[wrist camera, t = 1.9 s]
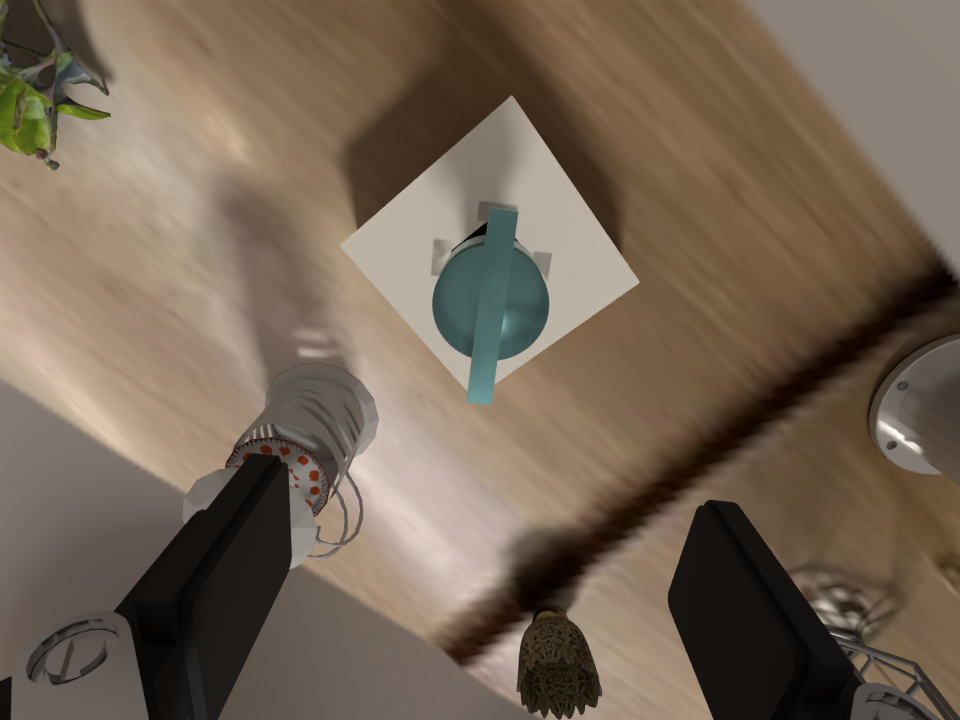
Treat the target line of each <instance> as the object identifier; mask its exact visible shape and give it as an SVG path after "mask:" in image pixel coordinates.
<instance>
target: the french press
mask: <svg viewBox="0 0 960 720" xmlns="http://www.w3.org/2000/svg"><path fill="white" fill-rule="evenodd" d="M378 420H379V418H378V414H377V410H376V406H375V402H374V399H373V397H372V396H371V395H370V393H369V392H368V391H367V389H366V388H365V386H364V385H363V384H362V382H361V381H359V380H358V379H356V378H355V377H353V376H352V375H350V374H349V373H347V372H346V371H344V370H343V369H341V368H337V367H333V366H329V365H325V364H321V363H312V364H303V365H296V366H294V367H292V368H290V369H289V370H287V371H285V372H283V373H282V374H280V375H278V376H277V377H276V379H275V380H274V382H273V383H272V385H271V386H270V388H269V389H268V391H267V393H266V402H265V410H264V411H263V412H262V413H261V414H260V416H259V417H258V418H257V419H256V420H255V421H254V422H253V423H252V425H251V426H250V427H249V428H248V429H247V430H246V431H245V432H244V433H243V435H242V436H241V437H240V439H239V440H238V441H237V443H236V444H235V446H234V449H233V452H232V454H231V455H230V457H229V458H228V460H227V461H226V464H225V469H219V470H217V471H215V472H213V473H211V474H209V475H207V476H205V477H203V478H201V479H199V480H197V481H196V482H195V483H194V485H193V486H192V488H191V489H190V490H189V492H188V493H187V494H186V496H185V497H184V505H183V521H184V523H185V524H186V523H187V522H188V520H189V519H190V518H191V517H192V516H193V515H194V514H195V513H196V512H197V511H199V510H201V509H205V510H206V509H207V508H208V507H209V505H210V504H211V503H212V502H213V500H214V499H215V498H216V497H217V495H218V494H219V493H220V492H221V490H222V489H223V488H224V486H225V485H226V484H227V483H228V481H229V480H230V479H231V478H232V476H233V475H234V474H235V473H236V471H237V470H238V469H239V468H240V466H241V465H242V464H243V463H244V461H245V460H246V459H247V458H248V456H249V455H250V454H252V453H259V454H269V455H278V456H279V457H280V459H281V462H282V463H287V464H288V468H289V491H290V516H291V540H292V561H291V566H290V569H292V568H294V567H296V566H298V565H300V564H301V563H302V562H303V561H304V559H305V558H309V559H313V560H320V559H326V558H328V557H330V556H332V555H333V554H335V553H336V552H337V551H338V550H339V549H340V548H341V546H344V545H346V544H347V543H348V542H350V541H351V540H353V539H354V538H355V537H356V535H357V534H358V533H359V530H360V526H361V523H362V520H363V506H362V499H361V496H360V493H359V491H358V488H357V486H356V485H355V483H354V482H353V480H352V478H351V477H350V475H349V473H348V469H349V467H350V465H351V462H352V460H353V458H354V457H356V456H357V455H359V454H361V453H363V452H364V451H365V449H366V448H367V447H368V446H369V444H370V443H371V442H372V441H373V439H374V438H375V434H376V429H377V425H378ZM267 424H269V427H270V430H271V433H272V437H270V438H269V434H268V429H267ZM262 425H263V432H264V437H265V438H261V434H260V426H262ZM255 428H256V438H257V439H253V430H254V429H255ZM248 436H249V441H248V442H246V443H245V439H246V438H247V437H248ZM338 473H339V476H340V477H339V480H338V482H337V485H336V487H335V485H334V481H335V479H336V477H337V475H338ZM344 475H346V477H347V478H348V480H349V482H350V483H351V485H352V487H353V489H354V490H355V493H356V495H357V497H358V500H359V505H360V516H359V522H358V524H357V527H356V530H355V532H354V534H353V535H352V536H351V537H350V538H349V539H347V540H345V541H344V539H345V537H346V534H347V531H348V520H347V509H346V506H345V503H344V500H343V498H342V497H341V495H340V493H339V492H338V490H337V489H338V487H339V485H340V483H341V481H342V479H343V477H344ZM331 486H332V488H333V490H334V491H333V493H332V495H331V497H330V499H331V498H332V496H333V495H334V494H335V493H336V495H337V497H338V499H339V501H340V503H341V505H342V508H343V510H344V517H345V524H344V533H343V535H342V538H341V540H340V542H339V543H333V544H330V543H327V542H324V541H321V540H320V539H319V532H320V529H321V527H320V526H317V525H316V522H315V519H314V517H315V516H317V515H318V514H319V512H320V511H321V510H322V509H323V507H324V506H325V505H326V504H327V501H328V495H329V490H330V488H331ZM315 539H316V542H317V543H318V544H319V545H323V546H327V547H332V548H334V547H336V548H335V549H334V550H332V551H331V552H329V553H327V554H325V555H319V556H312V555H309V553H310V552H311V551H312V550H313V548H314V543H315ZM343 541H344V542H343ZM290 569H289V570H290Z"/></svg>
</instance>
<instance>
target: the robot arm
mask: <svg viewBox="0 0 960 720" xmlns="http://www.w3.org/2000/svg"><path fill="white" fill-rule="evenodd" d="M869 429H870V434H871V438H872V440H873V442H874V444H875V446H876V448H877V449H878V450H879V451H880V452H881V453H882V454H883V455H884V456H885V457H886V458H888V459H889V460H890V461H891V462H893V463H894V464H895V465H897V466H899V467H901V468H903V469H905V470H908V471H912V472H915V473H920V474H931V475H933V474H944V475H945V476H947V477H948V478H950V479H951V480H952V481H954V482H955V483H957V484H958V485H960V333H959V334H955V335H951V336H947V337H944V338H941V339H939V340H937V341H934V342H932V343H929V344H927V345H926V346H924V347H922V348H920V349H919V350H917V351H915V352H914V353H912V354H911V355H910V356H908V357H907V358H906V359H904V360H903V361H902V362H901V363H900V364H899V365H898V366H897V367H896V368H895V369H894V370H893V371H892V372H891V373H890V374H889V375H888V376H887V378H886V379H885V380H884V382H883V383H882V385H881V386H880V387H879V389H878V391H877V393H876V395H875V397H874V400H873V402H872V406H871V410H870V414H869ZM291 561H292V540H291V516H290V491H289V468H288V464H287V463H282V462H281V459H280V457H279V456H278V455H269V454H259V453H252V454H250V455H249V456H248V458H247V459H246V460H245V461H244V463H243V464H242V465H241V466H240V468H239V469H238V470H237V471H236V473H235V474H234V475H233V476H232V478H231V479H230V480H229V481H228V483H227V484H226V485H225V486H224V488H223V489H222V490H221V492H220V493H219V494H218V495H217V497H216V498H215V499H214V500H213V502H212V503H211V504H210V505H209V507H208V508H207V509H206V510H205V509H201V510H199V511H197V512H196V513H195V514H194V515H193V516H192V517H191V518H190V519H189V520H188V522H187V523H186V524H185V525H184V526H183V528H182V529H181V530H180V531H179V533H178V534H177V535H176V536H175V537H174V539H173V540H172V541H171V542H170V543H169V545H168V546H167V547H166V548H165V550H164V551H163V552H162V553H161V555H160V556H159V557H158V558H157V559H156V561H155V562H154V563H153V564H152V565H151V567H150V568H149V569H148V570H147V571H146V573H145V574H144V575H143V576H142V578H141V579H140V580H139V581H138V582H137V584H136V585H135V586H134V587H133V589H132V590H131V591H130V592H129V593H128V595H127V596H126V597H125V598H124V600H123V601H122V602H121V603H120V604H119V606H118V607H117V608H116V609H115V610H114V612H108V611H96V612H87V613H84V614H80V615H77V616H74V617H70V618H69V619H66V620H64V621H62V622H60V623H58V624H55V625H54V626H52V627H51V628H49V629H48V630H46V631H45V632H43V633H42V634H40V635H39V636H38V637H37V638H35V640H33V641H32V642H31V643H30V644H29V645H28V646H27V647H26V648H25V649H24V650H23V652H22V653H21V655H20V656H19V658H18V660H17V661H16V663H15V666H14V670H13V674H12V676H11V677H8V678H6V679H4V680H2V681H0V720H217V719H218V718H219V716H220V713H221V711H222V709H223V707H224V705H225V703H226V701H227V699H228V697H229V695H230V692H231V691H232V689H233V687H234V684H235V682H236V680H237V678H238V676H239V674H240V672H241V670H242V668H243V666H244V664H245V662H246V659H247V657H248V655H249V653H250V651H251V649H252V647H253V645H254V643H255V641H256V639H257V637H258V634H259V632H260V630H261V628H262V626H263V624H264V622H265V620H266V618H267V616H268V614H269V612H270V609H271V607H272V605H273V603H274V601H275V599H276V597H277V595H278V593H279V591H280V589H281V587H282V584H283V582H284V580H285V578H286V576H287V574H288V572H289V569H290V566H291ZM668 605H669V609H670V612H671V614H672V617H673V619H674V622H675V624H676V627H677V629H678V632H679V634H680V637H681V639H682V642H683V644H684V647H685V649H686V652H687V654H688V657H689V659H690V662H691V664H692V667H693V669H694V672H695V674H696V677H697V679H698V682H699V684H700V687H701V689H702V692H703V694H704V697H705V699H706V702H707V704H708V707H709V709H710V712H711V714H712V717H713V719H714V720H940V719H939V718H938V717H937V716H936V715H935V714H934V713H933V712H931V711H930V710H929V709H928V708H927V707H926V706H924V705H923V704H922V703H920V702H919V701H917V700H916V699H914V698H913V697H911V696H909V695H908V694H906V693H904V692H902V691H900V690H898V689H896V688H893V687H891V686H887V685H884V684H880V683H865V684H863V685H862V684H861V682H860V681H859V679H858V678H857V677H856V675H855V674H854V672H853V671H854V669H855V667H854V666H853V665H852V663H851V662H850V661H849V659H848V658H847V656H846V655H845V654H844V652H843V651H842V649H841V648H840V647H839V645H838V644H837V642H836V641H835V640H834V638H833V637H832V635H831V634H830V633H829V631H828V630H827V628H826V627H825V626H824V624H823V623H822V621H821V620H820V619H819V617H818V616H817V614H816V613H815V612H814V610H813V609H812V607H811V606H810V605H809V603H808V602H807V600H806V599H805V598H804V596H803V595H802V593H801V592H800V591H799V589H798V588H797V586H796V585H795V584H794V582H793V581H792V579H791V578H790V577H789V575H788V574H787V572H786V571H785V570H784V568H783V567H782V565H781V564H780V563H779V561H778V560H777V558H776V557H775V556H774V554H773V553H772V551H771V550H770V549H769V547H768V546H767V544H766V543H765V542H764V540H763V539H762V537H761V536H760V535H759V533H758V532H757V530H756V529H755V528H754V526H753V525H752V523H751V522H750V521H749V519H748V518H747V517H746V515H745V514H744V512H743V511H742V510H741V508H740V507H739V506H738V505H737V504H736V503H734V502H727V501H717V500H708V501H707V502H706V503H705V504H704V506H703V505H701V506H699V507H698V508H697V510H696V513H695V516H694V519H693V521H692V524H691V527H690V530H689V533H688V536H687V539H686V542H685V545H684V548H683V551H682V554H681V557H680V560H679V563H678V565H677V568H676V571H675V574H674V577H673V580H672V583H671V586H670V589H669V593H668Z"/></svg>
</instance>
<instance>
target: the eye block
mask: <svg viewBox="0 0 960 720" xmlns="http://www.w3.org/2000/svg"><path fill="white" fill-rule="evenodd" d="M490 206H495V207H503V208H511V209H517V210H518V212H519V213H518V220H517V227H516V234H515V238H516V239H517V240H518V242H519V243H520V244H521V245H523V246H524V247H525V248H526V249H527V250H528V251H529V252H530V253H531V255H532V256H533V258H534V259H535V261H536V263H537V265H538V267H539V270H540V272H541V274H542V277H543V279H544V281H545V284H546V287H547V290H548V295H549V314H548V318H547V322H546V324H545V327H544V329H543V331H542V333H541V334H540V336H539V337H538V338H537V340H536V341H535V342H534V343H533V344H532V345H531V346H530V347H529V348H527V349H526V350H525V351H523V352H521V353H520V354H518V355H516V356H514V357H511V358H508V359H504V360H499V361H497V368H496V375H495V382H494V384H496V383H497V382H499V381H500V380H502V379H503V378H504V377H506V376H507V375H509V374H510V373H511V372H513V371H514V370H516V369H517V368H519V367H520V366H521V365H523V364H524V363H526V362H527V361H529V360H530V359H531V358H533V357H534V356H536V355H537V354H539V353H540V352H541V351H543V350H544V349H546V348H547V347H549V346H550V345H551V344H553V343H554V342H556V341H557V340H559V339H560V338H561V337H563V336H564V335H566V334H567V333H569V332H570V331H571V330H573V329H574V328H576V327H577V326H578V325H580V324H581V323H583V322H584V321H586V320H587V319H588V318H590V317H591V316H593V315H594V314H596V313H597V312H598V311H600V310H601V309H603V308H604V307H606V306H607V305H608V304H610V303H611V302H613V301H614V300H616V299H617V298H618V297H620V296H621V295H623V294H624V293H626V292H627V291H628V290H630V289H631V288H633V287H634V286H636V285H637V284H638V283H640V282H639V280H638V279H637V278H636V276H635V275H634V273H633V272H632V270H631V269H630V267H629V266H628V264H627V263H626V261H625V260H624V258H623V257H622V256H621V254H620V253H619V251H618V250H617V248H616V247H615V245H614V244H613V242H612V241H611V239H610V238H609V236H608V235H607V233H606V232H605V231H604V229H603V228H602V226H601V225H600V223H599V222H598V220H597V219H596V217H595V216H594V214H593V213H592V211H591V210H590V209H589V207H588V206H587V204H586V203H585V201H584V200H583V198H582V197H581V195H580V194H579V192H578V191H577V189H576V188H575V187H574V185H573V184H572V182H571V181H570V179H569V178H568V176H567V175H566V173H565V172H564V170H563V169H562V167H561V166H560V164H559V163H558V162H557V160H556V159H555V157H554V156H553V154H552V153H551V151H550V150H549V148H548V147H547V145H546V144H545V142H544V141H543V140H542V138H541V137H540V135H539V134H538V132H537V131H536V129H535V128H534V126H533V125H532V123H531V122H530V120H529V119H528V118H527V116H526V115H525V113H524V112H523V110H522V109H521V107H520V106H519V104H518V103H517V101H516V100H515V98H514V97H513V96H510V97H509V98H508V99H507V100H506V101H505V102H504V103H502V104H501V105H500V106H499V107H498V108H497V109H496V110H494V111H493V112H492V113H491V114H490V115H489V116H488V117H486V118H485V119H484V120H483V121H482V122H481V123H479V124H478V125H477V126H476V127H475V128H474V129H473V130H471V131H470V132H469V133H468V134H467V135H466V136H465V137H463V138H462V139H461V140H460V141H459V142H458V143H457V144H455V145H454V146H453V147H452V148H451V149H450V150H449V151H447V152H446V153H445V154H444V155H443V156H442V157H441V158H439V159H438V160H437V161H436V162H435V163H434V164H433V165H431V166H430V167H429V168H428V169H427V170H426V171H425V172H423V173H422V174H421V175H420V176H419V177H418V178H417V179H415V180H414V181H413V182H412V183H411V184H410V185H409V186H407V187H406V188H405V189H404V190H403V191H402V192H401V193H399V194H398V195H397V196H396V197H395V198H394V199H393V200H391V201H390V202H389V203H388V204H387V205H386V206H385V207H383V208H382V209H381V210H380V211H379V212H378V213H377V214H375V215H374V216H373V217H372V218H371V219H370V220H369V221H367V222H366V223H365V224H364V225H363V226H362V227H361V228H359V229H358V230H357V231H356V232H355V233H354V234H352V235H351V236H350V237H349V238H348V239H347V240H346V241H344V242H343V243H342V244H341V245H340V247H341V248H342V249H343V251H344V252H345V253H346V254H347V255H348V256H349V257H350V258H351V260H352V261H353V262H354V263H355V264H356V265H357V266H358V268H359V269H360V270H361V271H362V272H363V273H364V274H365V276H366V277H367V278H368V279H369V280H370V281H371V282H372V284H373V285H374V286H375V287H376V288H377V289H378V290H379V292H380V293H381V294H382V295H383V296H384V297H385V298H386V299H387V301H388V302H389V303H390V304H391V305H392V306H393V307H394V309H395V310H396V311H397V312H398V313H399V314H400V315H401V317H402V318H403V319H404V320H405V321H406V322H407V323H408V325H409V326H410V327H411V328H412V329H413V330H414V331H415V333H416V334H417V335H418V336H419V337H420V338H421V339H422V340H423V342H424V343H425V344H426V345H427V346H428V347H429V348H430V350H431V351H432V352H433V353H434V354H435V355H436V356H437V358H438V359H439V360H440V361H441V362H442V363H443V364H444V366H445V367H446V368H447V369H448V370H449V371H450V372H451V374H452V375H453V376H454V377H455V378H456V379H457V380H458V381H459V383H460V384H461V385H462V386H463V387H464V388H465V389H466V391H467V392H468V383H469V375H470V367H471V358H470V357H468V356H466V355H463V354H461V353H460V352H458V351H457V350H455V349H454V348H453V347H451V346H450V345H449V344H448V343H447V342H446V341H445V339H444V338H443V337H442V335H441V334H440V332H439V330H438V328H437V326H436V323H435V320H434V317H433V311H432V298H433V292H434V288H435V285H436V283H437V281H438V278H439V276H440V274H441V271H442V269H443V267H444V265H445V262H446V260H447V259H448V257H449V256H450V254H451V253H452V252H453V251H454V250H455V247H456V246H457V245H458V244H460V243H461V242H462V241H463V240H465V239H466V238H467V237H468V236H470V235H471V234H472V233H473V232H474V231H476V230H477V229H478V228H479V227H481V226H482V225H483V224H484V223H486V222H488V217H489V208H490Z"/></svg>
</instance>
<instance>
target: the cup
mask: <svg viewBox="0 0 960 720" xmlns="http://www.w3.org/2000/svg"><path fill="white" fill-rule="evenodd" d="M518 692H520V693H521V700H522V705H523V706H524V705H526V706H527V709H528V712H529V713H530V714H534V713H535V712H537V711H538V710H540V711H541V714H542V716H543V718H544V719H545V718H546V716H547V715H548V711H549V708H550V710H551V712H552V714H554V715H555V717H556V718H557V719H558V720H560V719H561V718H562V715H563V713H564V715H565V716H566V717H567V718H568V719H571V718H572V716H573V713H574V710H575V706H576V707H577V708H578V711H579V714H581V715H583V714H584V711H585V704H586V705H587V704H588V706H590V707H593V708H596V706H597V703H598V696H600V697H601V696H602V689H601V686H600V683H599V676H598V673H597V670H596V667H595V664H594V661H593V658H592V655H591V652H590V649H589V646H588V644H587V641H586V639H585V637H584V635H583V633H582V632H581V630H580V629H579V628H578V627H577V626H576V625H575V624H574V623H573V622H571V621H570V620H569V619H568V617H567V615H566V614H565V612H564V611H563V610H561V609H560V608H558V607H555V606H546V607H543V608H541V609H539V610H538V611H537V612H536V613H535V615H534V617H533V620H532V624H531V625H530V626H529V627H528V628H527V629H526V631H525V633H524V635H523V637H522V641H521V646H520V653H519V666H518V681H517V693H518ZM577 708H576V709H577Z"/></svg>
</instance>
